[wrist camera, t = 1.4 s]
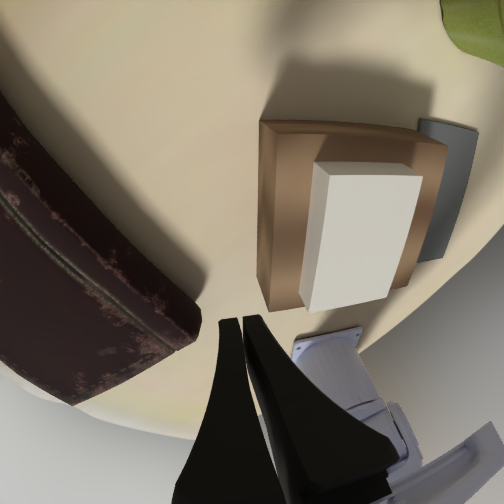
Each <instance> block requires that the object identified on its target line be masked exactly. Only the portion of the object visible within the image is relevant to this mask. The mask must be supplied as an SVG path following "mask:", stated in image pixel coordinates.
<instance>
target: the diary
mask: <svg viewBox="0 0 504 504" xmlns="http://www.w3.org/2000/svg"><path fill="white" fill-rule="evenodd" d="M201 323H202V315H201V309H200V308H199V307H198V305H197V304H196V303H195V302H194V301H193V300H192V299H191V298H190V297H188V296H187V295H186V294H185V293H184V292H183V291H182V290H180V289H179V288H178V287H177V286H176V285H175V284H174V283H173V282H171V281H170V280H169V279H168V278H167V277H166V276H165V275H164V274H162V273H161V272H160V271H159V270H158V269H157V268H156V267H155V266H154V265H153V264H152V263H150V262H149V261H148V260H147V259H146V258H145V257H144V256H143V255H142V254H141V253H140V252H139V251H138V250H137V249H136V248H135V247H134V246H133V245H132V244H131V243H130V242H129V241H128V240H127V239H126V238H125V237H124V236H123V235H122V234H121V233H120V232H119V231H118V230H117V229H116V228H115V226H114V225H113V224H112V223H111V222H110V221H109V220H108V219H107V218H106V217H105V216H104V215H103V214H102V212H101V211H100V210H99V209H98V208H97V207H96V206H95V205H94V204H93V202H92V201H91V200H90V199H89V198H88V197H87V196H86V195H85V193H84V192H83V191H82V190H81V189H80V188H79V187H78V186H77V185H76V184H75V182H74V181H73V180H72V179H71V178H70V177H69V176H68V175H67V174H66V173H65V172H64V171H63V169H62V168H61V167H60V166H59V165H58V164H57V163H56V162H55V161H54V160H53V158H52V157H51V156H50V155H49V154H48V153H47V152H46V150H45V149H44V148H43V147H42V146H41V145H40V144H39V142H38V141H37V140H36V139H35V138H34V137H33V135H32V134H31V133H30V132H29V131H28V129H27V128H26V127H25V126H24V124H23V123H22V122H21V120H20V119H19V117H18V116H17V115H16V113H15V112H14V110H13V109H12V108H11V106H10V105H9V103H8V102H7V100H6V99H5V97H4V96H3V95H2V93H1V92H0V360H1V361H2V362H3V363H4V364H5V365H7V366H8V367H9V368H10V369H12V370H13V371H14V372H16V373H17V374H18V375H20V376H21V377H23V378H24V379H26V380H27V381H29V382H31V383H32V384H34V385H36V386H37V387H39V388H41V389H42V390H44V391H46V392H47V393H49V394H51V395H53V396H55V397H56V398H58V399H60V400H62V401H64V402H66V403H68V404H69V405H71V406H74V405H76V404H78V403H81V402H83V401H85V400H87V399H90V398H92V397H94V396H96V395H99V394H101V393H103V392H105V391H107V390H109V389H111V388H113V387H115V386H117V385H119V384H121V383H123V382H125V381H127V380H129V379H130V378H132V377H134V376H136V375H137V374H139V373H141V372H143V371H144V370H146V369H148V368H150V367H151V366H153V365H155V364H156V363H158V362H160V361H161V360H163V359H165V358H166V357H168V356H170V355H171V354H173V353H174V352H175V351H176V350H177V351H178V350H180V349H182V348H184V347H186V346H187V345H189V344H191V343H193V342H195V341H196V339H197V337H198V335H199V331H200V327H201Z"/></svg>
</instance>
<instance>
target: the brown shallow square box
mask: <svg viewBox="0 0 504 504" xmlns="http://www.w3.org/2000/svg"><path fill="white" fill-rule="evenodd" d="M448 147H449V146H447V145H445V144H443V143H441V142H439V141H437V140H435V139H433V138H431V137H429V136H426V135H424V134H422V133H420V132H417V131H415V130H412V129H405V128H397V127H389V126H381V125H371V124H361V123H348V122H333V121H312V120H259V166H258V226H257V279H258V282H259V285H260V288H261V291H262V294H263V297H264V300H265V303H266V306H267V309H268V311H269V312H275V311H281V310H287V309H294V308H300V307H305V305H304V303H303V301H302V299H301V296H300V294H299V286H300V279H301V272H302V264H303V257H304V249H305V241H306V232H307V224H308V215H309V205H310V196H311V186H312V175H313V164H314V162H379V163H401V164H404V165H406V166H408V167H409V168H411V169H412V170H414V171H416V172H417V173H419V174H420V175H422V176H423V179H422V183H421V187H420V192H419V196H418V200H417V204H416V207H415V211H414V215H413V218H412V222H411V226H410V229H409V232H408V236H407V239H406V242H405V245H404V249H403V252H402V255H401V258H400V261H399V264H398V267H397V270H396V273H395V275H394V278H393V281H392V284H391V287H390V289H389V290H392V289H397V288H401V287H405V286H407V285H408V283H409V280H410V278H411V275H412V272H413V270H414V267H415V264H416V262H417V259H418V256H419V253H420V250H421V247H422V245H423V242H424V239H425V236H426V232H427V229H428V226H429V223H430V220H431V216H432V213H433V209H434V206H435V202H436V199H437V195H438V191H439V187H440V183H441V179H442V175H443V171H444V166H445V162H446V157H447V152H448Z"/></svg>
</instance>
